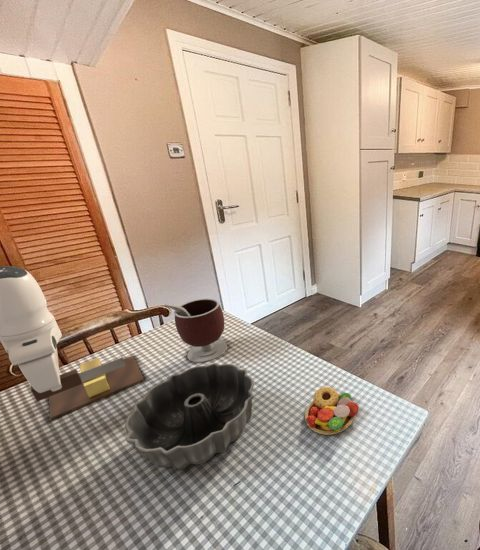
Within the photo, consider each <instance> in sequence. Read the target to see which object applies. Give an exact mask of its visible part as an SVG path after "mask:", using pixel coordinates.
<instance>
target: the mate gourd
mask: <svg viewBox="0 0 480 550" xmlns="http://www.w3.org/2000/svg"><path fill="white" fill-rule="evenodd" d="M164 308H169V309H172V310H174V312H173V313H174V314H173V315H174V325H175V329H176V331H177V334H178V336H179V337H180V340H181V341H182V342H184V343H185V344H187V345H189V346H191V348H190V349H189V351H188V353H187V359H188V360H189V361H190V362H193V363H204V362H205V363H206V362H210V361H212V360H215V359H217V358H220V357H221V356H222V355H223V354H224V353H225V352H227V349H228V344H227V342H226V341H224V340H222V339H220V338H221V336H222V335H223V333H224V331H225V316H224V312H223V309H222V306H221V305H220V302H219V301H218V300H217V299H214V298H199V299H194V300H189V301H187V302H184V303H182V304H180V305H176V304H168V303H167V304H166V303H165V304H164Z"/></svg>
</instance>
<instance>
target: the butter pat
mask: <svg viewBox="0 0 480 550" xmlns="http://www.w3.org/2000/svg"><path fill="white" fill-rule="evenodd" d="M84 387H85V390H86V392H87V394H88V396H89V398H90V397H92V396H94V395H97V394H99V393H102V392H104V391H106V390H109V389H110V388H109V385H108V383H107V381H106V378H105V376H102V377H99V378H97V379H94V380H91V381H89V382H86V383H84Z"/></svg>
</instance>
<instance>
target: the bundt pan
mask: <svg viewBox="0 0 480 550" xmlns="http://www.w3.org/2000/svg"><path fill="white" fill-rule="evenodd" d="M254 387H255V381H254V379H253V377H252V376H250V375H249V374H248V370H247V369H245V368H240V367H239V366H238V365H236V364H233V363H223V364H219V363H217V362H213V363H210V364H208V365H196V366H192V367H190V368H187V369H185V370H183V371H182V372H180V373H175V374H172V375H170V376H169V377H168V378H167V379H166V380H164V381H162V382H160V383H158V384H156V385H154V386H153V387H151V388H150V389H149V390H147V392H146V393H145V394H144V395H143V397H142V399H141V400H139V401H137V402H136V403H134V404H133V406H132V410H133V411H132V412H131V413H130V414H129V415H128V416H127V418H126V420H125V422H124V430H125V431H126V433H128V434H127V436H126V439H125V441H126V442H127V444H131V445H132V446H133V447H134V448H135V449H136V450H137V452H138V453H139V454H140V456H142V457H143V458H145V459H148V460H149V461H150V462H151V463H152V464H153V465H155V466H156V467H159V468H171V467H174V468H175V469H177V470H180V471H181V470H183V469H185V468H187V467H188V466H189V465H190V464H192V465H200V464H204V463H206V462H208V461H209V460H211V458H213V456H214V455H216V454H217V453H225V452H226V451H227V448H228V447H229V445H230V443H232V442H234V441H236V440H237V439H239V438H240V437H241V435H242V434H243V432H244V430H245V427H246V424H248V422H249V421H250V420H251V419H252V414H253V398H254V397H255V396H254V392H253V389H254Z"/></svg>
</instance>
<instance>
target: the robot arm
mask: <svg viewBox="0 0 480 550" xmlns="http://www.w3.org/2000/svg"><path fill="white" fill-rule="evenodd" d="M45 296H46V295H45V294H44V292H43V290H42V289H41V287H40V284H39V283H38V282H37V280H36V278H35V277H34V276H33V275H32V274H31V273H30V272H29V271H28V270H26V269H25V268H22V267H18V266H11V265H10V266H9V265H4V266H1V265H0V343H1V345H2V347H3V348H4V350H5V352H6V353H7V357H8V359H9V361H10V363H11V364H12V366H18V368H19V370H20V371H21V373H22V374H23V376H24V377H25V379H26V380H27V382H28V383H29V384H30V387H31V386H32V387H33V388H34V390H35V391H37V392H39V393H42V392H45V391H48V390H51V391H57V390H59V389H61V388H62V384H61V381H60V375H61V373H60V364H59V355H58V347H57V346H58V343H59V341H60V339H61V338H62V336H63V334H62V331H61V329H60V327H59V324H58V323H57V321H56V318H55V316H54V314H53V313H52V312H50V311H49V309H48V302H47V298H46V297H45Z"/></svg>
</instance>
